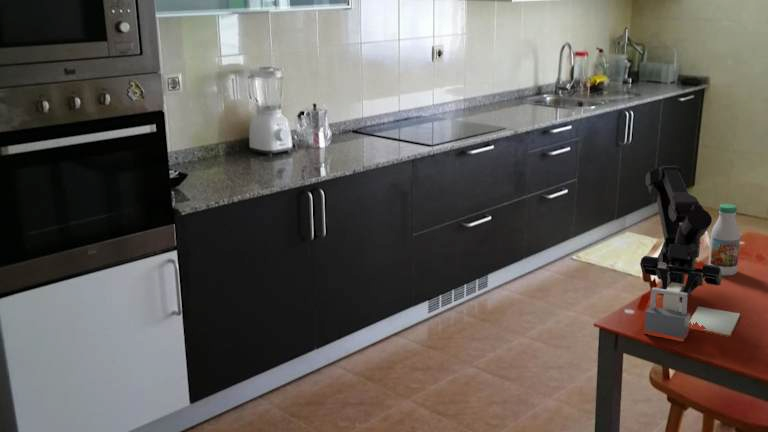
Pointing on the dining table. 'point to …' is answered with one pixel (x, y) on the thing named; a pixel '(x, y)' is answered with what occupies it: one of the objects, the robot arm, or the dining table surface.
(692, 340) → the dining table surface
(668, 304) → the white rectangular block
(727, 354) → the dining table surface
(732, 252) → the milk bottle
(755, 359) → the dining table surface
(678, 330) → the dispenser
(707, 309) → the mat
